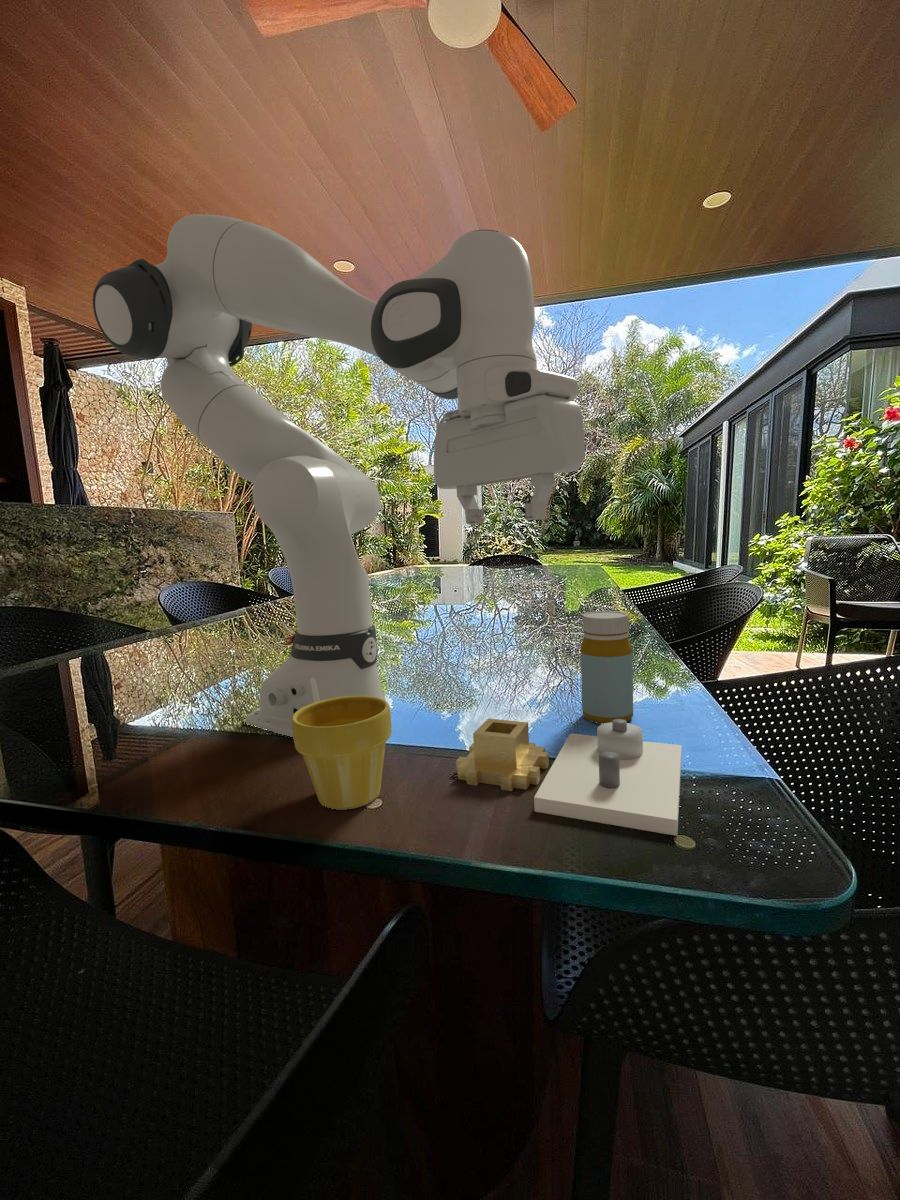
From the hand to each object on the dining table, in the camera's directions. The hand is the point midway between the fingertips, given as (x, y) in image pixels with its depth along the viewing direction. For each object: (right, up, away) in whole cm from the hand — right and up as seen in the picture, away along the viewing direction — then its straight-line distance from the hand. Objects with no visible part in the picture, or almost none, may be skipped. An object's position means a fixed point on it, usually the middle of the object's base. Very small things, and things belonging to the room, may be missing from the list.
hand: (503, 522), depth 61 cm
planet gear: (0, -29, +2) cm, 29 cm away
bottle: (+17, -26, +16) cm, 35 cm away
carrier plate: (+12, -29, -3) cm, 31 cm away
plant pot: (-17, -30, -2) cm, 35 cm away
